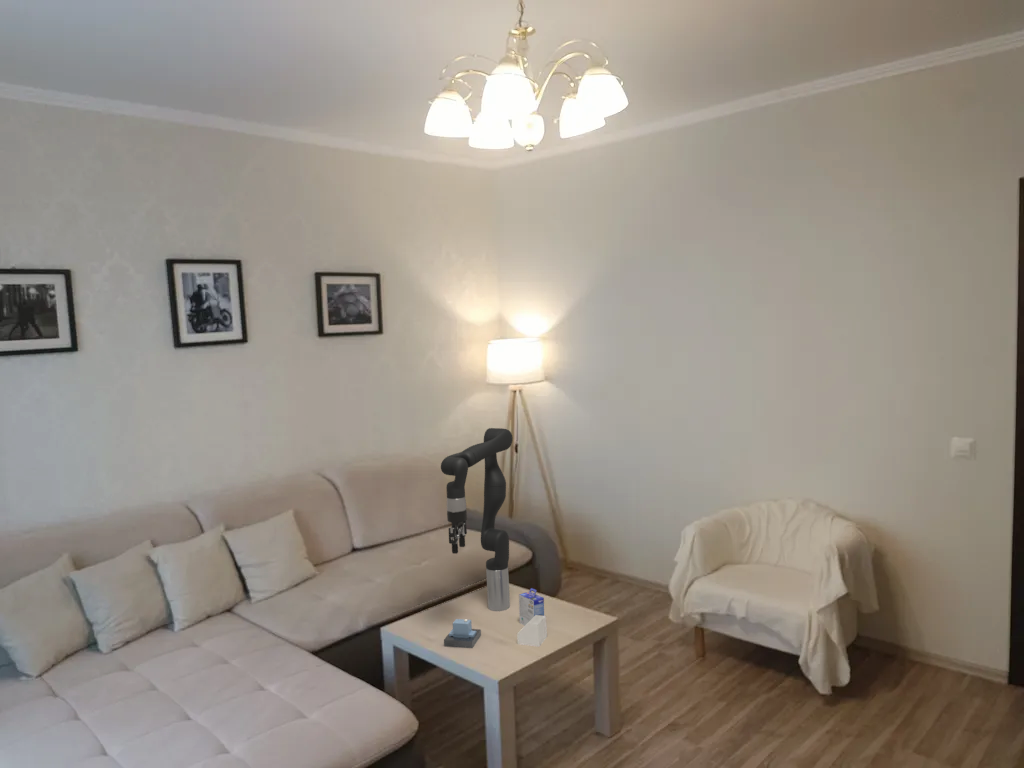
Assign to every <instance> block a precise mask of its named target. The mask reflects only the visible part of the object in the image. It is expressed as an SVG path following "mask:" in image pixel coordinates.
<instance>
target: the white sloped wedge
mask: <svg viewBox="0 0 1024 768" xmlns="http://www.w3.org/2000/svg"><path fill="white" fill-rule="evenodd" d="M547 631H548V629H547V616H546V615H544V616H540V615H535V616H534V617H533V618H532V619H531V620H530V621H529V622H528V623H527V624H526V625H525V626H524V625H523V627H522V628H521V629H520V630H519V631H518V632H517V633H516V637H517V640H516V641H517V645H521V646H523V645H524V646H532V647H538V648H540V647H541V646H542V644H543V643H544V642H545V640H546V639H547V638H548V633H547Z"/></svg>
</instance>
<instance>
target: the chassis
mask: <svg viewBox="0 0 1024 768" xmlns="http://www.w3.org/2000/svg"><path fill="white" fill-rule="evenodd" d="M451 630H453V628H452V629H451ZM472 631H476V634H475V636H474V637H470V638H458V637H453V636H449V633H448V634H447V635H446V637H444V639H443V646H444V647H450V648H462V649H464V648H465V649H473V648H474V647H475V646H476V644H477V642H479V639H480V638H481V636H482V629H478V628H476V629H475V628H472Z"/></svg>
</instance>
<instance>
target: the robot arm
mask: <svg viewBox="0 0 1024 768" xmlns="http://www.w3.org/2000/svg"><path fill="white" fill-rule="evenodd" d="M513 439H514V438H513V435H512V432H511V431H510V430H509V429H508V428H507V429H506V428H501V427H499V428H498V427H495V428H493V427H489V428H487V429H486V430H485V432H484V435H483V442H480V443H476V444H473V445H471V446H468V447H467V448H465V449H464V450H463V451H460V452H456V453H453V454H451V455H447V456H446V457H445V458H444V459H443V460H442V462H441V463H440V469H441V472H442V474H444V475H446V476H453V477H454V480H453V481H449V482H448V483H446V520H447V522H448V523H451V527H448V543H449V544H451V552H452V554H454V555H455V554H456V555H457V554H458V553H459V547H460V548H465V547H466V535H467V534H468V530H467V529H468V528H467V519H468V515H467V499H466V492H465V491H466V490H465V485H466V482H467V477H468V476H467V475H468V472H469V468H471V467H473V466H475V465H476V464H478V463H479V462H481V461H482V460H484V483H483V485H484V486H483V513H482V514H483V515H482V523H481V531H480V544H481V545H480V546H481V548H482V549H483V550H485V551H489V552H494V557H491V558H488V559H487V560H486V562H485V569H486V571H485V572H486V573H485V574H486V589H487V590H486V592H487V608H488V610H490V611H492V612H504V611H507V610H508V609H510V608H511V601H510V600H511V597H510V581H509V579H510V578H509V559H510V537H509V533H508V531H506V530H504V529H499V528H495V524H496V523H495V522H496V518H497V517H496V516H497V514H498V512H499V511H500V509H501V507H502V506H503V505H504V503H505V501H506V497H507V482H506V477H505V476H504V474H503V471H502V470H501V467H500V466H499V462H498V456H497V454H498V453H501V452H504V451H507V450H509V448H511V446H512V445H513V442H514V441H513Z"/></svg>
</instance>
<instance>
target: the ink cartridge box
mask: <svg viewBox="0 0 1024 768" xmlns="http://www.w3.org/2000/svg"><path fill="white" fill-rule="evenodd" d="M532 591H533V592H532ZM537 591H538V590H537V589H535V588H533V587H531V588H530V589H529V591H527V592H523V593H520V594H518V605H519V606H518V609H519V613H518V614H519V617H518V618H519V624H521V625H522V626H523V627H524V626H525V625H526V624H527V623H528V622H529V621H530V620H531V619H532V618H533V617H534V616H535V615H540V616H545V602H544V601H545V597H543V596H541V595H538V594H537Z"/></svg>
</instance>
